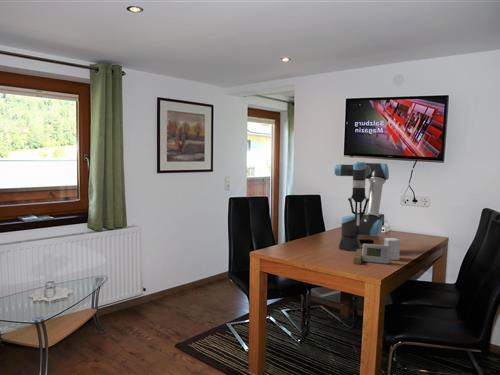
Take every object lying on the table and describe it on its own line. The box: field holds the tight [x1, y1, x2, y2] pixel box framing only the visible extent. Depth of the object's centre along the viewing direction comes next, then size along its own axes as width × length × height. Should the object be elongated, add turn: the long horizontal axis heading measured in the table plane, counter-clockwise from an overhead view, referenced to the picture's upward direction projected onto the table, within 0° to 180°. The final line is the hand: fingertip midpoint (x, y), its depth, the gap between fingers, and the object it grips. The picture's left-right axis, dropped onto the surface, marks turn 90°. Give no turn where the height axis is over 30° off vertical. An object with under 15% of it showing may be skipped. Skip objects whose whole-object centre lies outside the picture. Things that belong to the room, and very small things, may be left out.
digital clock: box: [361, 243, 390, 265], centre depth 242 cm, size 16×9×11 cm, turn 56°
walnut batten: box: [353, 248, 363, 266], centre depth 248 cm, size 24×4×4 cm, turn 160°
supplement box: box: [383, 237, 401, 261], centre depth 251 cm, size 7×7×13 cm
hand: (357, 225), depth 245 cm, fingers closed
